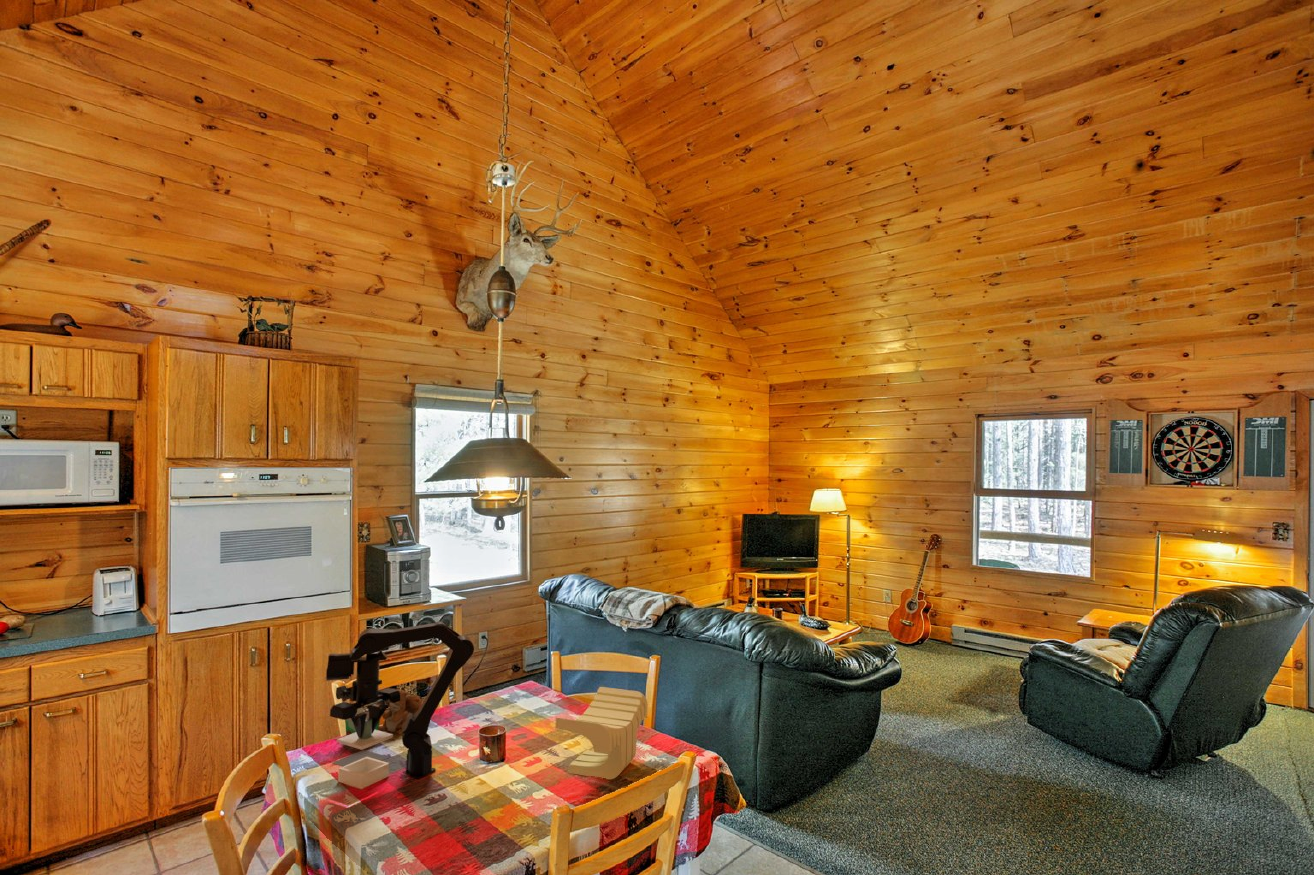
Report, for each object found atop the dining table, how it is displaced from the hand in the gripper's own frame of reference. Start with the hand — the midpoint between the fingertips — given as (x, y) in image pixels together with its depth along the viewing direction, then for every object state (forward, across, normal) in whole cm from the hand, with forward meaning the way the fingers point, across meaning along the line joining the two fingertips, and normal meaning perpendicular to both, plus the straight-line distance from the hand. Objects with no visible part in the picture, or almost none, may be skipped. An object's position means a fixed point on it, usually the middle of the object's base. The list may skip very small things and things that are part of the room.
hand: (365, 735), depth 186 cm
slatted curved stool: (+12, -40, +51) cm, 66 cm away
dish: (+12, 0, 0) cm, 12 cm away
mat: (+12, -8, -11) cm, 18 cm away
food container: (+12, -18, -22) cm, 31 cm away
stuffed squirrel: (+12, -32, -22) cm, 41 cm away
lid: (+1, 0, 0) cm, 1 cm away
